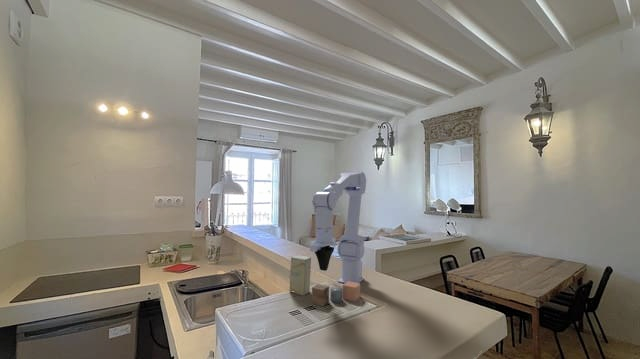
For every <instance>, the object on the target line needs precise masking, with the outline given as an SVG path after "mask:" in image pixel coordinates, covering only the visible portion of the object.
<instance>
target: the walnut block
mask: <svg viewBox="0 0 640 359" xmlns="http://www.w3.org/2000/svg"><path fill="white" fill-rule="evenodd" d="M329 302H330V285H325V284H321V283H317V284H316V285H314V286H312V287H311V305H315V306H319V307H325V306H326V304H328V303H329Z"/></svg>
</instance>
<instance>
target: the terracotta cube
mask: <svg viewBox="0 0 640 359" xmlns="http://www.w3.org/2000/svg"><path fill="white" fill-rule="evenodd" d="M342 289H343V298H342V300H347V301H351V302H356V301H357V300H358V299H360V298H361V282H360V283H355V282H350V281H348V282H346V283H343V284H342Z"/></svg>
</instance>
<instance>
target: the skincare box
mask: <svg viewBox="0 0 640 359" xmlns="http://www.w3.org/2000/svg"><path fill="white" fill-rule="evenodd" d="M311 269H312V256H306V255H299V254H296V255H293V256H290V272H289V273H290V274H289V278H290V279H289V289H288V290H289V293H292V291H294V294H297V295H300V296H305V295H306V294H308V293H310V290H311Z"/></svg>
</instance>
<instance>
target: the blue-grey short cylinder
mask: <svg viewBox="0 0 640 359" xmlns="http://www.w3.org/2000/svg"><path fill="white" fill-rule="evenodd" d="M329 302H332V303H335V304H337V303H342V302H343V287H338V286H333V287H330V288H329Z"/></svg>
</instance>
